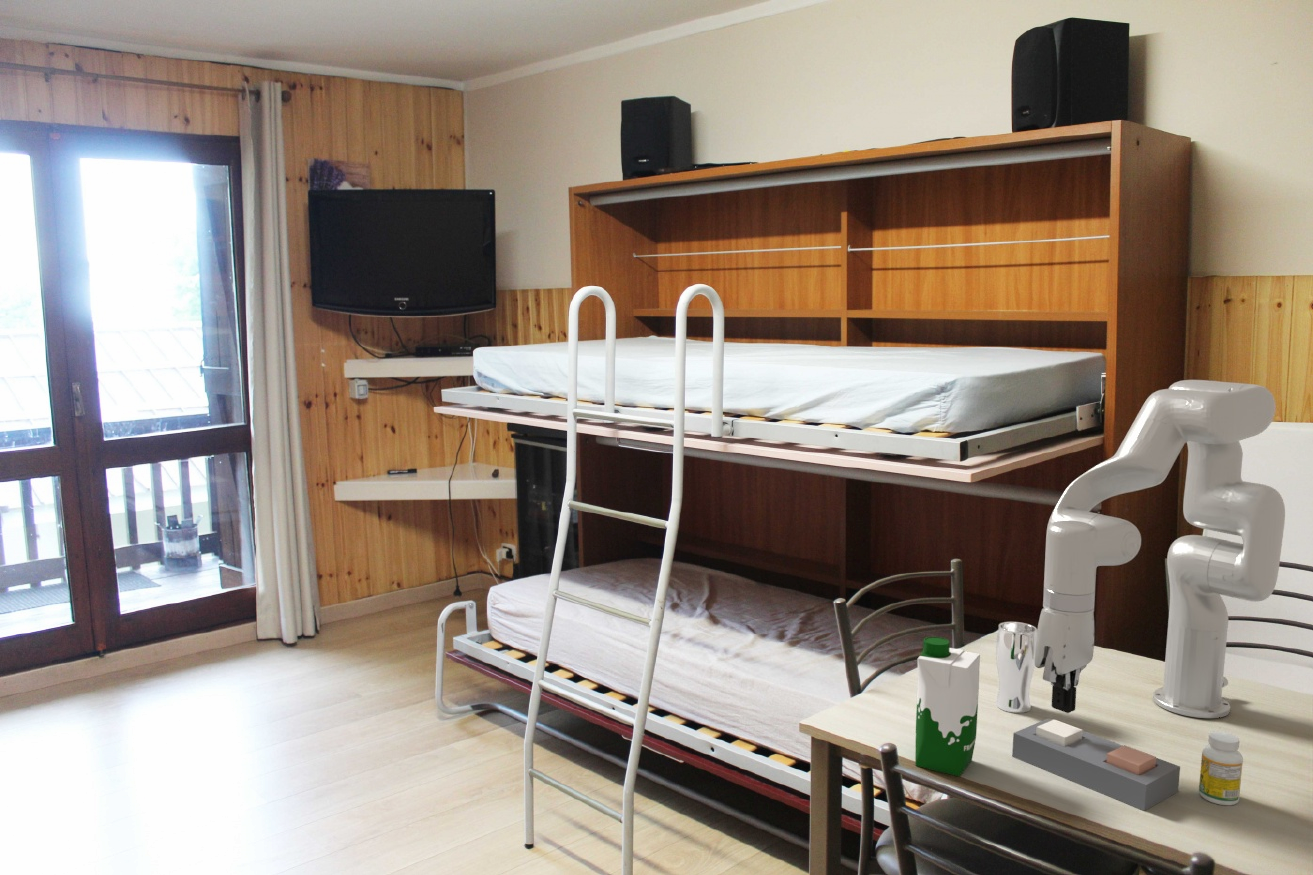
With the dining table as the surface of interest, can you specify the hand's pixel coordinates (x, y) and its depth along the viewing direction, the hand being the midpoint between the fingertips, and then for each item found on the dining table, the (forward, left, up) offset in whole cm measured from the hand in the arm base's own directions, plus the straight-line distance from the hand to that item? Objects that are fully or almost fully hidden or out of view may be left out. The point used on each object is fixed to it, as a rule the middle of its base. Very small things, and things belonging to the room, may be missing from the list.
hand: (1063, 708), depth 166 cm
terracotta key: (+1, +12, -7) cm, 14 cm away
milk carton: (+17, -10, -9) cm, 21 cm away
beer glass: (-12, -17, -9) cm, 23 cm away
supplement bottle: (-7, +21, -9) cm, 24 cm away
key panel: (+1, +6, -8) cm, 10 cm away
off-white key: (+1, 0, -7) cm, 7 cm away
